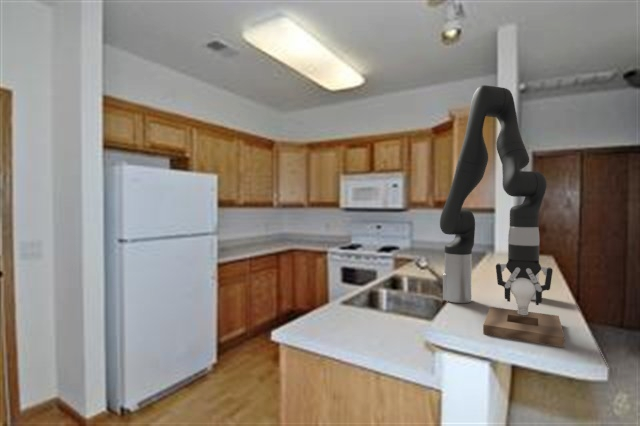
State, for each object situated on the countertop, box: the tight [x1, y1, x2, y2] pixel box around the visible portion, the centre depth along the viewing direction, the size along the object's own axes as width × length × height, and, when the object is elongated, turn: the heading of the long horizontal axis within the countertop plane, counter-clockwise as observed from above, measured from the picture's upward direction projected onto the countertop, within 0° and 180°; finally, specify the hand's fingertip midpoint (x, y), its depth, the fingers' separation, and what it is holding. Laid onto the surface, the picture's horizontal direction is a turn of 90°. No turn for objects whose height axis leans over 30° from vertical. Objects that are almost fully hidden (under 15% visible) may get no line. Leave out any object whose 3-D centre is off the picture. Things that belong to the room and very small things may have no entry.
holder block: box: [482, 306, 565, 348], centre depth 100 cm, size 18×20×2 cm
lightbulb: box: [510, 278, 536, 316], centre depth 100 cm, size 6×6×11 cm
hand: (522, 302), depth 100 cm, fingers closed on lightbulb, 6 cm apart
